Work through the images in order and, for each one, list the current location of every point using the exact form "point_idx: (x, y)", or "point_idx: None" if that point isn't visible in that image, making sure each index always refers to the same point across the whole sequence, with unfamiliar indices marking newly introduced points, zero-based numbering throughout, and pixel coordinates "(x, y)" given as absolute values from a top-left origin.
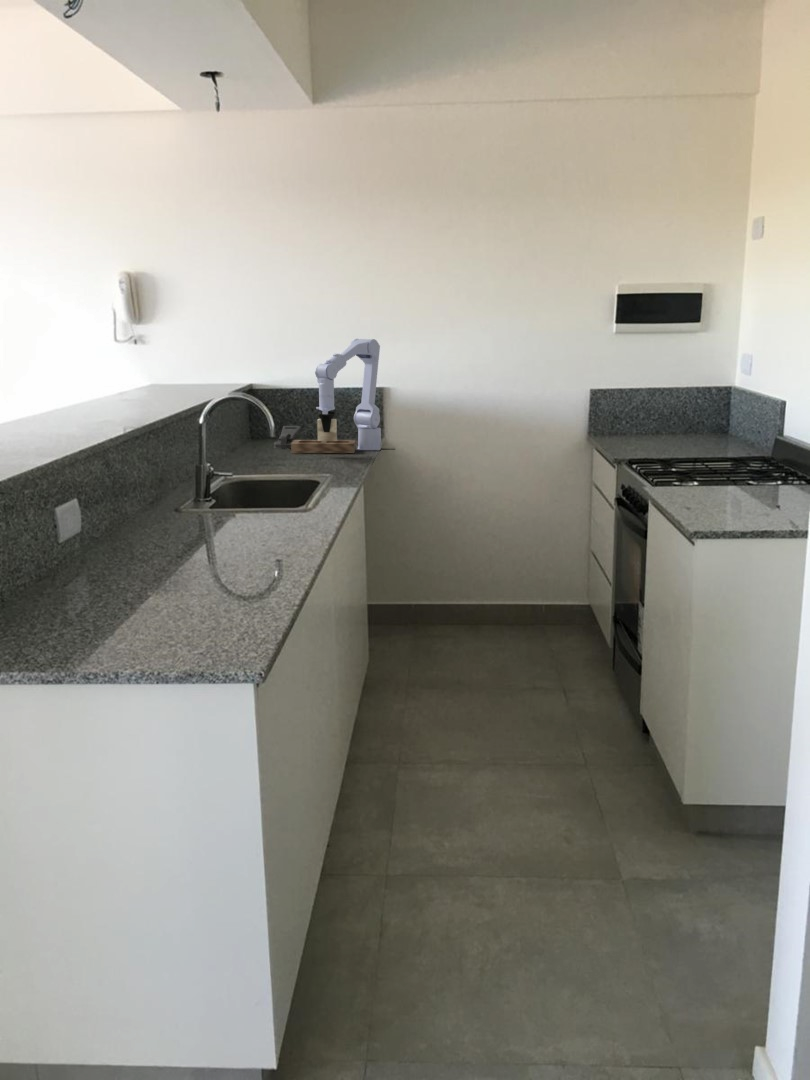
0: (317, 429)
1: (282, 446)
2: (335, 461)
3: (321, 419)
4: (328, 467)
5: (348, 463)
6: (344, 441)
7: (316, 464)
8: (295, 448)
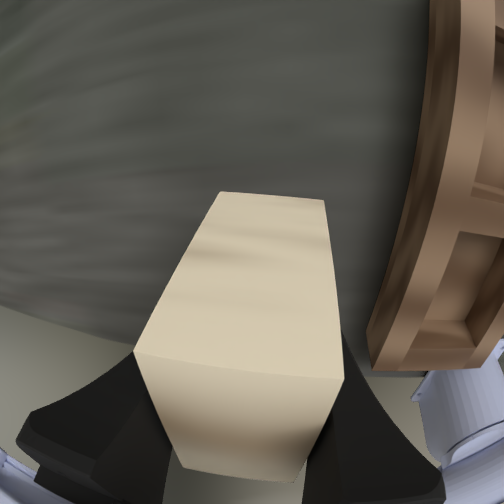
0: (185, 252)
1: None
2: (119, 248)
3: (81, 395)
4: (4, 224)
5: (89, 293)
6: (486, 327)
7: (35, 170)
8: (443, 3)
